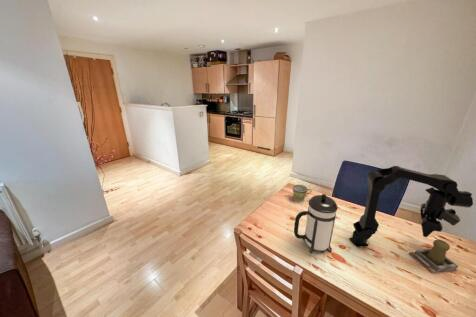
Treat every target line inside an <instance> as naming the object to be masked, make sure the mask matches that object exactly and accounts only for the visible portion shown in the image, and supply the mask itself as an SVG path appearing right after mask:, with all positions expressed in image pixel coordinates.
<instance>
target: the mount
mask: <svg viewBox="0 0 476 317" xmlns="http://www.w3.org/2000/svg"><path fill="white" fill-rule="evenodd" d="M431 249H432V248H424V249H415V251H409V252H408V255H409V256H410V257H412V258H413V259H414V260H415V261H417V262H418V263H419V264H420V265H421V266H422V267H423V268H425V269H426V270H427V271H428V272H429V273H431V274H438V273H445V272H454V271H457V269H458V267H459V265H458V264H457V263H455V262H453V261H452V260H451V259H450V258H448V257H447V256H446V255H445V260H444V265H442V266H437V265H436V264H434V263H433V262H432V261H431V260H429V259H428V258H427V257H426V256H427V255H428V253H429V252H430V250H431Z"/></svg>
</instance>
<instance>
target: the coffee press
mask: <svg viewBox="0 0 476 317" xmlns="http://www.w3.org/2000/svg"><path fill="white" fill-rule="evenodd" d="M338 208H339V207H338V204H337V202H336V201H335V200H334V199H333V198H332V197H329V196H327V194H325V193H322V194H317V195H313V196H311V198H309V199H308V208H307V210H303V211H300V212H298V213H297V215H296V216H295V219H294V226H293V233H294V234H293V235H294V236H295V238H296V239H300V240H304V241H305V243H306V246H308V247H309V248H310V250H309V253H310V254H313V253H314V251H325V250H327V252H328V253H331V252H332V250H333V249H332V246H331V241H332V237H333V232H334V228H335V222H336V221H335V220H336V216H337V212H338V211H337V210H338ZM303 216H307V217H306V223H305V231H304V234H299V226H300V225H299V224H300V221H301V220H300V219H301V218H302V217H303Z"/></svg>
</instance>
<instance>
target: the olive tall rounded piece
mask: <svg viewBox="0 0 476 317" xmlns="http://www.w3.org/2000/svg"><path fill="white" fill-rule="evenodd" d="M432 242H433V246H432V247H431V248H430V249H431V250H430V252H429V253H428V255H427V256H426V257H427V258H428V259H429V260H431V261H432V262H433V263H434V264H436V265H437V266H442V265H444V260H445V256H446V255H447V252H448V251H449V250H450V248H451V246H450V244H449V243H448V242H447V241H445V240H442V239H435V240H433V241H432Z"/></svg>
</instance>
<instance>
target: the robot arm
mask: <svg viewBox="0 0 476 317" xmlns="http://www.w3.org/2000/svg"><path fill="white" fill-rule="evenodd" d="M366 179H367V180H366V181H367V186H368V187H367V188H368V192H367V196H366V197H367V198H366V202H365V208H364V212H363V215H361V216H360V218H359V220H357V221H356V222H354V223H352V225H353V228H354V230H353V232H352V235H351V237H349V240H350V242H352V243H353V245H354V246H355V247H356V248H364V247H366V248H367V247H369V244H368V240H370V238H371V237H372V236H373V235H376V233H377V232H378V231H379V230H378V228H379V225H380V224H379V222H378V221H377V218H376V213H377V209H378V205H379V202H380V201H379V200H380V195H381V193H382V192H384V190H385V188H386V186H388V185H390V184H393V183H394V182H396V181H397V179H404V180H410V181H413V182H416V183H421V184H425V185H427V186H430V188H425V189H424V190H425V192H426V193H428V194H429V196H428V198H427V200H426V201H425V203H422V204H421V205H420V210H419V211H420V212H419V213H420V218H421V222H420V224H421V231H422V236H423V237H424V238H428V237H429V236H430V235H432V233H433V232H440V233H441V232H442V231H443V224H442V223H441V221H445V222H447V223H448V224H450V225H451V226H456V225H457V224H459V223H460V222H461V218H460V216H458V214H457V211H456V210H455V209H453V208H449V209H446V205H447V204H448V205H449V206H451V207H460V208H471V207H472V206H473V204H474V200H473V197H472V196H473V195H472V193H471V192H469V191H465V190H463V191H461V190H459V189H458V183H457V181H455V180H454V179H451V178H450V177H449V176H447V175H444V174H439V173H433V174H431V173H424V172H421V171H416V170H414V169H413V170H412V169H409V168H406V167H405V168H404V167H401V166H399V165H393V166H390V167H387V168H380V169H377V170H375V171H374V170H373V171H370V172H368V174H367V178H366Z"/></svg>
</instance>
